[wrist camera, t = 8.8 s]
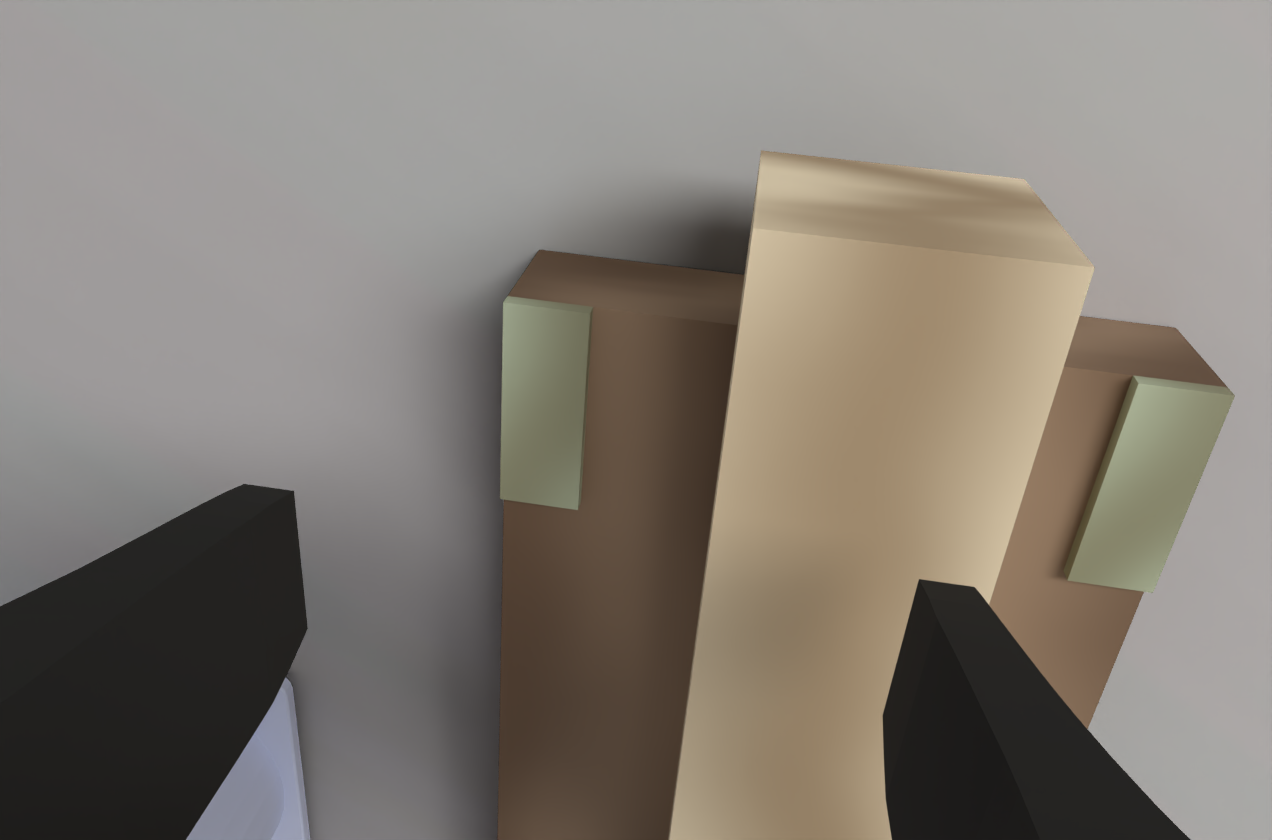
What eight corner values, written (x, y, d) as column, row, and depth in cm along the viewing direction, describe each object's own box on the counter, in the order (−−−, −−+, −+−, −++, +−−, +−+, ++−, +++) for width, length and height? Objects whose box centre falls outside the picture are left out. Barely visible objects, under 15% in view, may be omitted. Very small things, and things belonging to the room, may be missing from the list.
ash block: (667, 841, 23) (646, 1012, 20) (761, 150, 15) (752, 228, 12) (840, 870, 23) (849, 1049, 19) (1024, 179, 15) (1095, 267, 12)
